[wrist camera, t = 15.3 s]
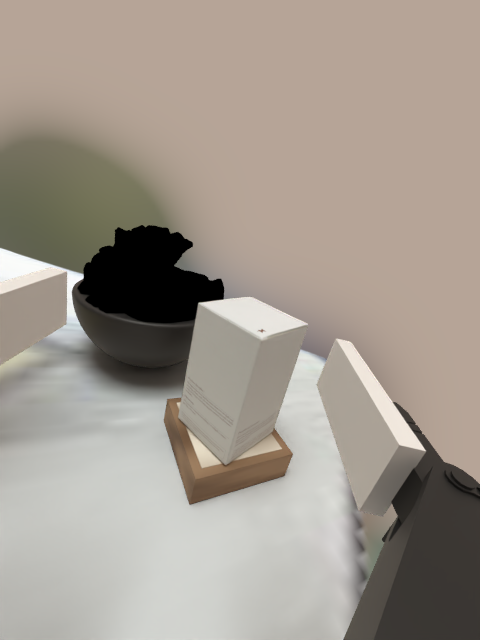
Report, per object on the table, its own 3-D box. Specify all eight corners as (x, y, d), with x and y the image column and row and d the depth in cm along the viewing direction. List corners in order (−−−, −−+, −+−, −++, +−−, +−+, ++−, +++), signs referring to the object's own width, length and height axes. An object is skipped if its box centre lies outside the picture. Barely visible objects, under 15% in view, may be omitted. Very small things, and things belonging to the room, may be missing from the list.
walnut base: (163, 420, 32) (167, 398, 31) (241, 409, 37) (247, 390, 36) (189, 504, 24) (195, 478, 23) (284, 475, 29) (293, 453, 28)
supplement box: (274, 432, 30) (313, 324, 25) (224, 468, 24) (261, 338, 20) (226, 393, 34) (252, 294, 30) (174, 416, 29) (196, 300, 24)
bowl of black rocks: (177, 323, 56) (193, 226, 49) (238, 380, 43) (271, 257, 36) (58, 333, 43) (58, 203, 37) (92, 419, 30) (101, 238, 23)
